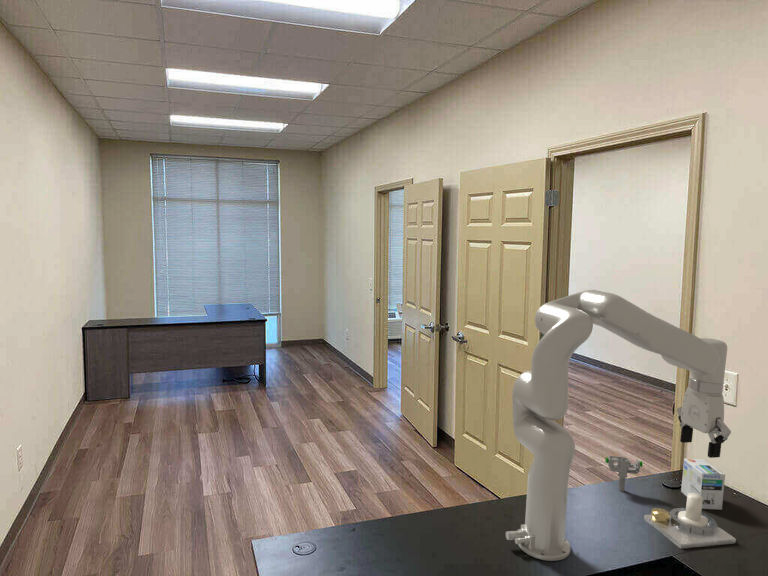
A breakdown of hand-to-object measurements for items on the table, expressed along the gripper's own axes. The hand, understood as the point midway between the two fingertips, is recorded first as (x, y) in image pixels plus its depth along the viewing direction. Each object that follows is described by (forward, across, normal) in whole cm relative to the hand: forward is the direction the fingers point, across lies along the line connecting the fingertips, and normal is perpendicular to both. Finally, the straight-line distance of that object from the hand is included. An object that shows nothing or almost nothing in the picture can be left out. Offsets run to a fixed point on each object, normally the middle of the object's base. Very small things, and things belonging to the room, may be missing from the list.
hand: (699, 449), depth 146 cm
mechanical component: (+22, -22, -6) cm, 31 cm away
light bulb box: (+22, -12, +14) cm, 29 cm away
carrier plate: (+22, +2, -2) cm, 22 cm away
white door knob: (+20, 0, 0) cm, 21 cm away
